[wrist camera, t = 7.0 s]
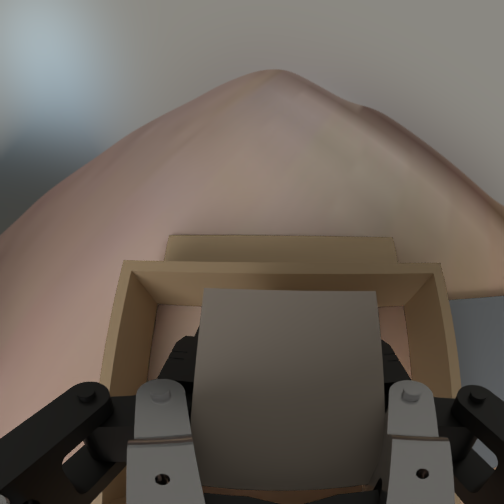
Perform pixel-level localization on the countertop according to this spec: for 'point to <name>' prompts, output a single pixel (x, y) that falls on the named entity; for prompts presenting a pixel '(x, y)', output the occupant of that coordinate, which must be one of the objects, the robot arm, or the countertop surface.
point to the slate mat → (480, 349)
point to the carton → (276, 278)
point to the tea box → (288, 389)
